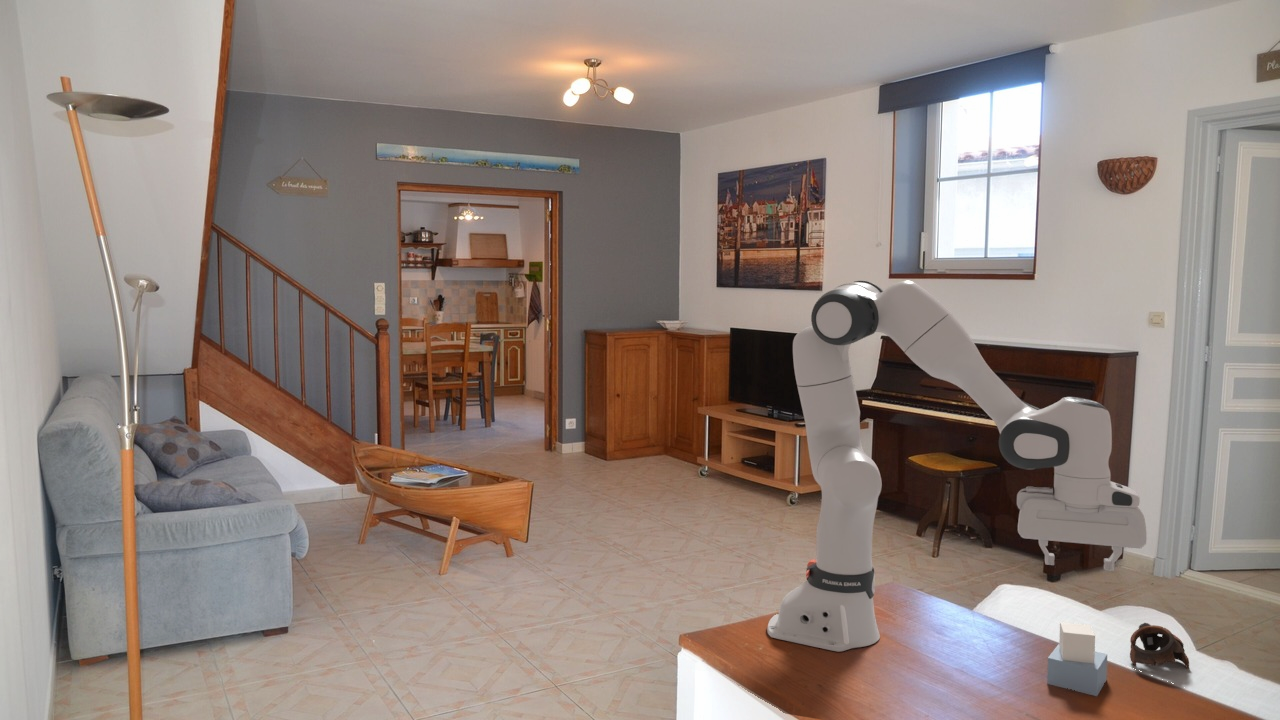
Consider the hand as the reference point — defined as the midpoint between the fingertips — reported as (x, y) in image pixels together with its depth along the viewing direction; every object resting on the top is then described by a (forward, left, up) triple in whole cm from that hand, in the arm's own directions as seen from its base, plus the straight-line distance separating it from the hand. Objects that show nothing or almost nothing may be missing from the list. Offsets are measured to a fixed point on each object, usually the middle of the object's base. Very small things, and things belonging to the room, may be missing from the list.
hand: (1078, 567), depth 154 cm
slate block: (0, 0, -21) cm, 21 cm away
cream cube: (0, 0, -16) cm, 16 cm away
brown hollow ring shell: (+15, +14, -21) cm, 29 cm away
